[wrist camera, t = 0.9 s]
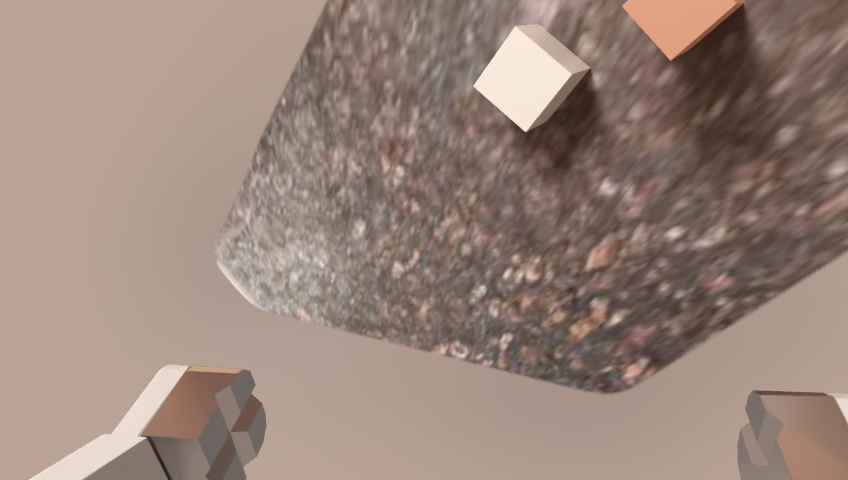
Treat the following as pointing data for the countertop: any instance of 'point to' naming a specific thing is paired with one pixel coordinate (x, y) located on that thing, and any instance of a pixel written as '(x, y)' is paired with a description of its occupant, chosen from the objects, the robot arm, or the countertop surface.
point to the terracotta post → (679, 21)
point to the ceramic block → (530, 76)
